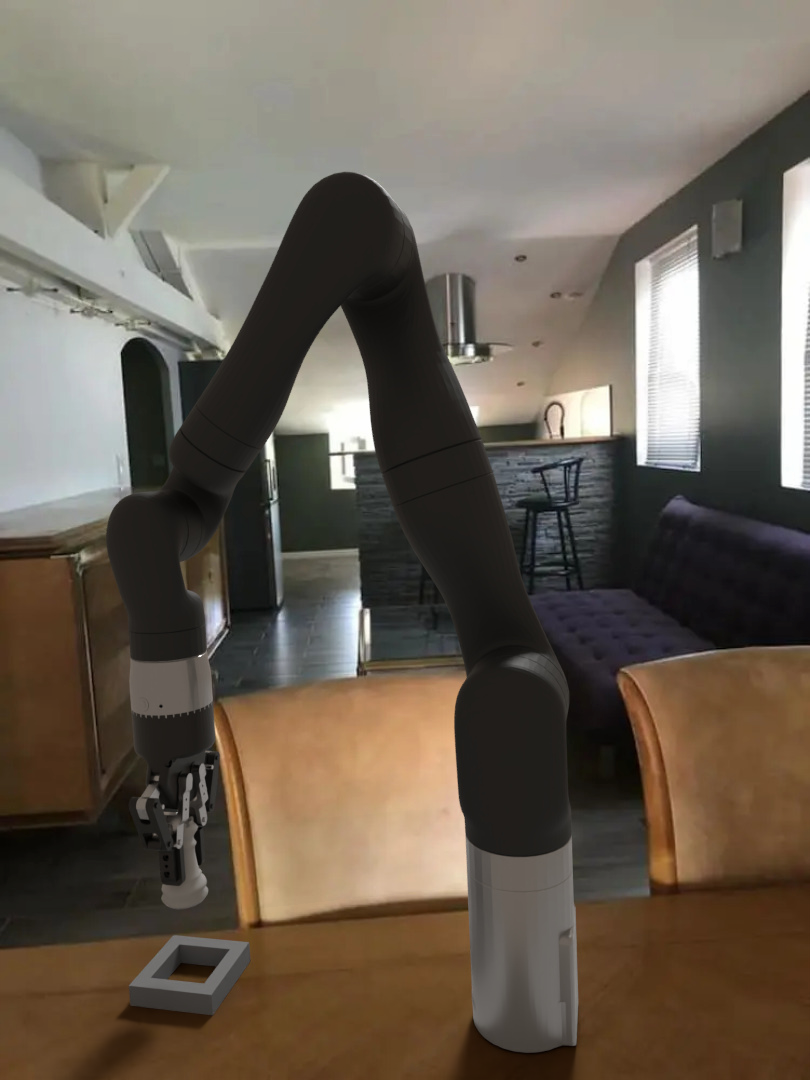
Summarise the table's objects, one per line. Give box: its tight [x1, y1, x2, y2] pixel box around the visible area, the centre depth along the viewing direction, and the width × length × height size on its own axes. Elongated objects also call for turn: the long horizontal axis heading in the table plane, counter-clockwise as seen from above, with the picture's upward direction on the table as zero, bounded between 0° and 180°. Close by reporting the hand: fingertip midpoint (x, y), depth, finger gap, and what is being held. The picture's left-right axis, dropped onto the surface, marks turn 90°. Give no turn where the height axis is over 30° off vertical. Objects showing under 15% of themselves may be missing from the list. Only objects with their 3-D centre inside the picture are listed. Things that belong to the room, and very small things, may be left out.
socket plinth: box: [128, 934, 251, 1016], centre depth 82 cm, size 8×8×2 cm
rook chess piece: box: [160, 816, 209, 910], centre depth 81 cm, size 4×4×8 cm
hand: (184, 872), depth 81 cm, fingers closed on rook chess piece, 3 cm apart
